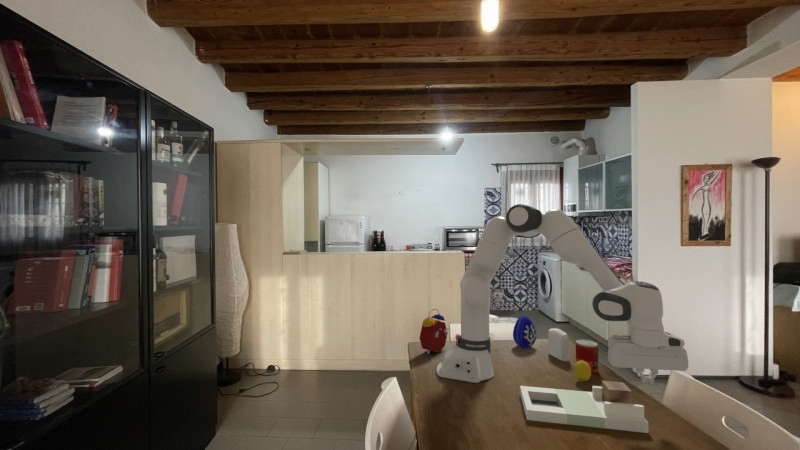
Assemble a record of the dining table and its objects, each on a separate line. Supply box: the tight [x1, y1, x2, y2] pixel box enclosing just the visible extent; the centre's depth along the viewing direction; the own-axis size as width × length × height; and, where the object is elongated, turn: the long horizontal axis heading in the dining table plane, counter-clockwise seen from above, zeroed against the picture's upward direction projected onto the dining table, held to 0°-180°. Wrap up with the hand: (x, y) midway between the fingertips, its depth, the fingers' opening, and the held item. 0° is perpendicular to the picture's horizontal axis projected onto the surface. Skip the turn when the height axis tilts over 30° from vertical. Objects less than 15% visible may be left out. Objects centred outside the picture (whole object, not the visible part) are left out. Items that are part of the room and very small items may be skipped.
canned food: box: [575, 339, 599, 375], centre depth 137 cm, size 8×8×11 cm
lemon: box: [573, 360, 592, 383], centre depth 126 cm, size 6×6×8 cm
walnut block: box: [601, 380, 633, 404], centre depth 103 cm, size 6×6×6 cm
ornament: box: [512, 315, 537, 349], centre depth 164 cm, size 11×9×15 cm
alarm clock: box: [419, 308, 450, 355], centre depth 158 cm, size 15×9×20 cm, turn 141°
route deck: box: [519, 385, 650, 434], centre depth 105 cm, size 32×16×6 cm, turn 77°
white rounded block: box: [547, 327, 570, 362], centre depth 150 cm, size 10×4×12 cm, turn 13°
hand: (647, 382), depth 102 cm, fingers closed
